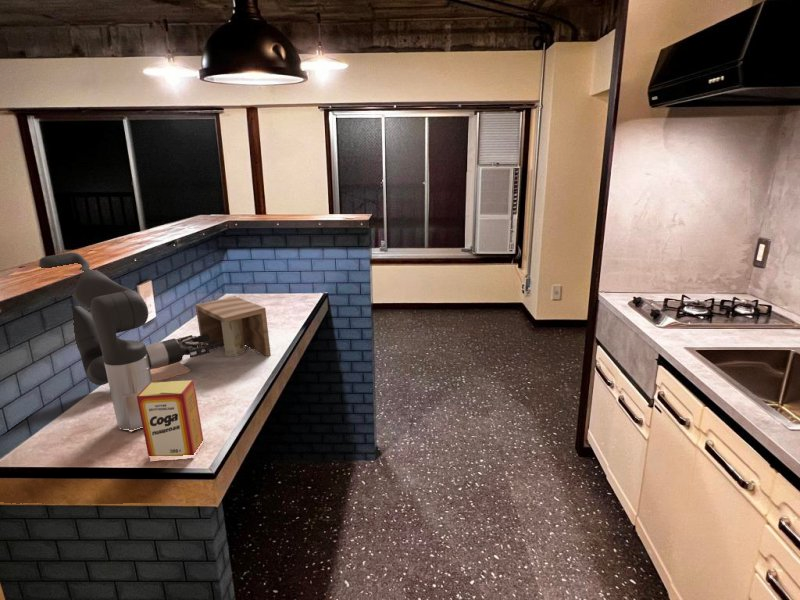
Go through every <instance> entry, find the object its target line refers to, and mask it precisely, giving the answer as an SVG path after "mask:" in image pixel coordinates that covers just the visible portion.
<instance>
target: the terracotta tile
mask: <svg viewBox="0 0 800 600" xmlns="http://www.w3.org/2000/svg"><path fill="white" fill-rule="evenodd" d="M190 371H191V370H190V368H188V367H187V366H186V365H184V364H183V363H181V362H178V363H174V364H171V365H167V366H164V367H160V368H156V369H151V370H150V372H151V377H152V382H153V383H155V382H162V381H165V380H167V379H172V378H174V376H175V377H177V375H178V376H182V375H184V374H188V373H190Z"/></svg>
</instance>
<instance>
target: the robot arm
mask: <svg viewBox="0 0 800 600" xmlns="http://www.w3.org/2000/svg"><path fill="white" fill-rule="evenodd" d="M74 263H78V264H81V265H82V267H81V268H80V269H79V270H82V271H84V273H83V274H82V275H81V276H80V278H79V280H78V281H77V284H76V289H75V291H74V293H73V294H72V295H71V296H72V298H73V299H75V301H77V302H78V303H79V304H81V305H82V306H83V307H82V306H80V305H79V306H75V307H74V309H73V320H74V323H73V325H74V333H75V340H76V343H75V345H76V344H77V346H76V347H77V349H78V351H79V354H80V359H81V363H82V366H83V369H84V372H85V375H86V378H87V379H88V381H89V382H91V384H93V385H97V386H104V385H106V384H108V386H109V393H110V396H111V401H112V405H113V410H114V414H115V418H116V419H115V420H116V424H117V427H119V428H121V429H129V430H134V429H137V428H140V427H143V426H142V421H141V416H140V411H139V406H138V401H137V395H138V394H139V393H140V392H141V391H142V390H143V389H144V388H145V387H146V386H147V385H148V384H149V383H153V382H152V377H151V372H150V370H151V369H156V368H160V367H164V366H167V365H171V364H174V363H178V362H180V363H181V362H182V361H183V357H184V356H189V357H190V358H191V359H192V358H196V357H198V356H199V357H200V356H204V355H207V354H211V353H210V352H211V350H210V349H213V350H215V349H214V348H216V349H218V348H217V347H220V346H221V344H220V341H219V340H215V341H212V342H208V343H201V342H205V341H209V340H210V338H209V335H208V334H204V335H200V334H199V335H198V336H197V335H191V334H190V335H187V336H183V337H178V338H169V339H165V340H162V341H158V342H155V343H151V344H149V345H145V343H144V342H142V341H138V340H129V339H128V340H127V339H120V338H118V336H117V334H118V333H123V332H126V331H131V330H135V329H137V328H140V327H142V326H144V325H145V324H146V323H147V321H148V318H149V308H148V305H147V303H146V301H145V300H144V298H143V297H142V296H141V295H140V294H139V293H138V292H136V290H133V289H131V288H128V287H125V286H123V285H121V284H119V283H117V282H115V281H114V280H112V279H111V278H109V277H108V276H107V275H105V274H104V273H103V272H101V271H99V270H98V269H96V270H90V269H89V267H90V266H89V264H90V263H89V262H88V261H87V259H86V258H84V257H83V256H82V254H80V253H77V252H66V253H60V254H54V255H47V256H44V257H41V258H40V260H39V263H38V268H39V267H41V268H52V267H57V266H63V265H69V264H74ZM84 307H86V308H88V309H90V312H91V313H90V312H89V311H88V310H86V309H85V308H84ZM203 348H205V349H203ZM220 348H221V347H220ZM119 428H118V429H119Z"/></svg>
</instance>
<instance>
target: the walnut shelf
mask: <svg viewBox="0 0 800 600" xmlns="http://www.w3.org/2000/svg"><path fill="white" fill-rule="evenodd" d="M195 310H196V311H195V312H196V317H197V325H198V331H199V336H200V335H204V334H208V335H209V338H210V340H209V341H205V342H201V343H208V342H212V341H215V340H219V341H220V344H221V346H220V348H223V347H224V340H223V332H222V325H221V322H224V323H225V322H229V321H233V320H237V319H241V318H242V324H243V333H244V341H245V345H246V346H245V347H247V346H248V347H247V348H249V347H250V348H249V349H251V350H253V351H254V352H257V353H258V352H259V354H260V355H263V356H265V357H266V358H268V357H270V356H271V357H272V353H271V345H270V338H269V328H268V320H267V319H268V318H267V311H266V307H264V306H262V305H259V304H256V303H253V302H251V301H248V300H246V299H244V298H241V297H239V296H229V297H225V298H220V299H217V300H215V299H214V300H212V301H207V302H203V303H197V304H195ZM222 346H223V347H222ZM203 349H205V348H203ZM216 349H219V348H218V347H217V348H216ZM216 349H215V348H214V349H213V350H216ZM210 351H212V349H210Z"/></svg>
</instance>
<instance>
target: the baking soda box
mask: <svg viewBox="0 0 800 600" xmlns="http://www.w3.org/2000/svg"><path fill="white" fill-rule="evenodd" d="M137 401H138V406H139V411H140V416H141V421H142V426H143V429H142V430H143V435H144V440H145V445H146V450H147V455H148V457H149V456H183V455H194V453H195V452H196V450H197V449H198V447H199V446H200V444H201V443H202V441H203V440H204V435H203V427H202V423H201V418H200V417H201V416H200V410H199V404H198V399H197V392H196V386H195V380H193V379H192V380H191V379H190V380H171V381H158V382H155V383H149V384H148V385H147V386H146V387H145V388H144V389H143V390H142V391H141V392H140V393H139V394H138V395H137Z"/></svg>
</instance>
